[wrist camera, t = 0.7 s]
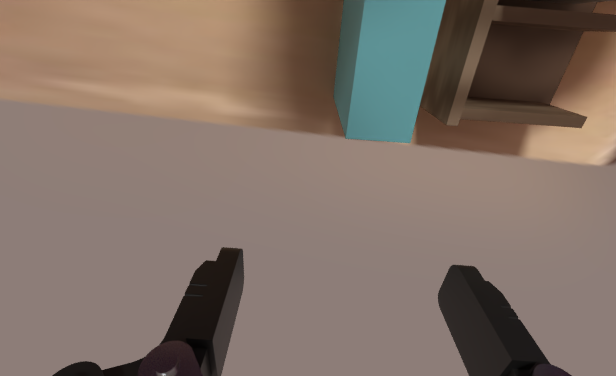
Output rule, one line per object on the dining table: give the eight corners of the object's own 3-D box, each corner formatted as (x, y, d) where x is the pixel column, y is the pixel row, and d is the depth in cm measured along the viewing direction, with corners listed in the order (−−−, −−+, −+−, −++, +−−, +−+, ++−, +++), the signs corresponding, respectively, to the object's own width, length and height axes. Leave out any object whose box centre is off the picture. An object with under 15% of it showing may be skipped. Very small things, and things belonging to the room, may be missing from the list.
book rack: (466, -104, 24) (582, -203, 14) (629, -89, 25) (864, -176, 14) (415, 102, 33) (464, 138, 22) (538, 112, 33) (645, 151, 22)
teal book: (333, 96, 32) (345, 138, 20) (345, -12, 28) (370, -43, 15) (373, 99, 33) (410, 143, 20) (392, -8, 28) (454, -36, 15)
